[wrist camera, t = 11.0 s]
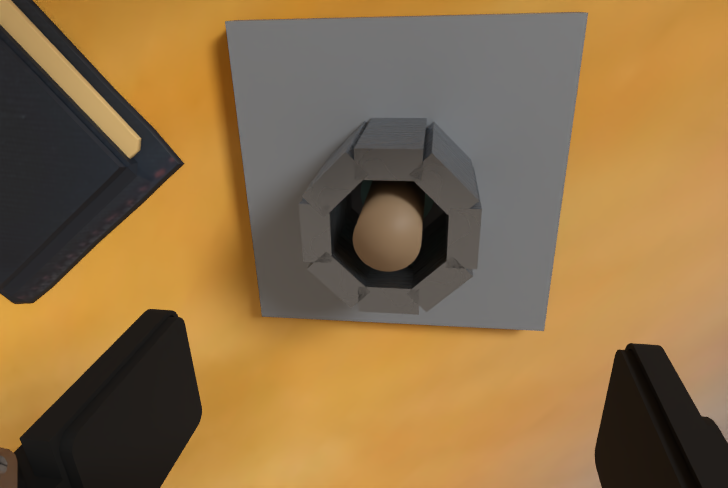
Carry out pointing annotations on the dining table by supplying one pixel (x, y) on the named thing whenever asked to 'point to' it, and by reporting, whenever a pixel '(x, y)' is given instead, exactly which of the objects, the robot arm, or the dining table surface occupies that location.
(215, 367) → the dining table surface
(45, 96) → the wallet
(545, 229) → the post base
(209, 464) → the dining table surface
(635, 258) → the dining table surface
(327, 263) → the collar
